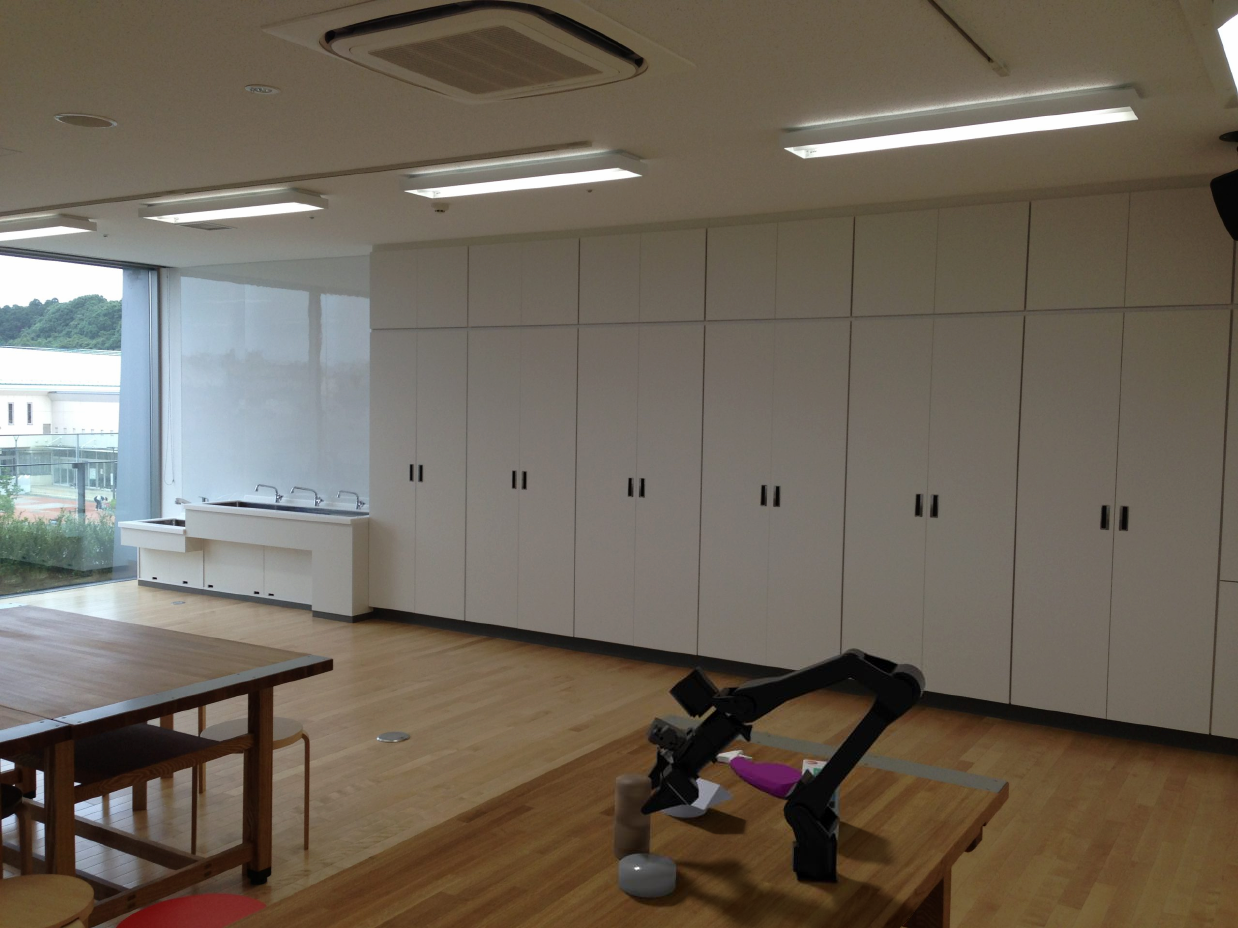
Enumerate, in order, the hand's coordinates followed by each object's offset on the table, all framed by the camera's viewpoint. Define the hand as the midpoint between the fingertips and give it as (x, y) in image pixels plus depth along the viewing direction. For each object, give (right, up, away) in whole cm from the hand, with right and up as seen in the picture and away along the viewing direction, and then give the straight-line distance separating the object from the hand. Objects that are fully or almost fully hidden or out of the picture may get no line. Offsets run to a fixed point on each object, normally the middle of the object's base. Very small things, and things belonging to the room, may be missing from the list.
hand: (641, 801), depth 172 cm
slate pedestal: (+1, -9, -11) cm, 14 cm away
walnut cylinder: (-2, -9, 0) cm, 9 cm away
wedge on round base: (+10, -8, +20) cm, 23 cm away
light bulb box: (+32, -9, +13) cm, 36 cm away
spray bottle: (+25, -8, +40) cm, 48 cm away
